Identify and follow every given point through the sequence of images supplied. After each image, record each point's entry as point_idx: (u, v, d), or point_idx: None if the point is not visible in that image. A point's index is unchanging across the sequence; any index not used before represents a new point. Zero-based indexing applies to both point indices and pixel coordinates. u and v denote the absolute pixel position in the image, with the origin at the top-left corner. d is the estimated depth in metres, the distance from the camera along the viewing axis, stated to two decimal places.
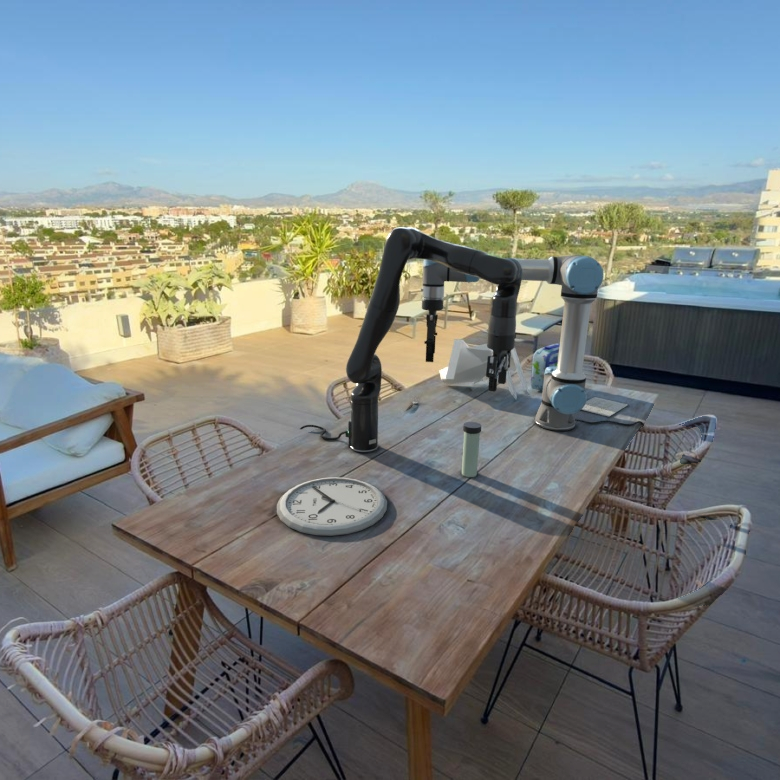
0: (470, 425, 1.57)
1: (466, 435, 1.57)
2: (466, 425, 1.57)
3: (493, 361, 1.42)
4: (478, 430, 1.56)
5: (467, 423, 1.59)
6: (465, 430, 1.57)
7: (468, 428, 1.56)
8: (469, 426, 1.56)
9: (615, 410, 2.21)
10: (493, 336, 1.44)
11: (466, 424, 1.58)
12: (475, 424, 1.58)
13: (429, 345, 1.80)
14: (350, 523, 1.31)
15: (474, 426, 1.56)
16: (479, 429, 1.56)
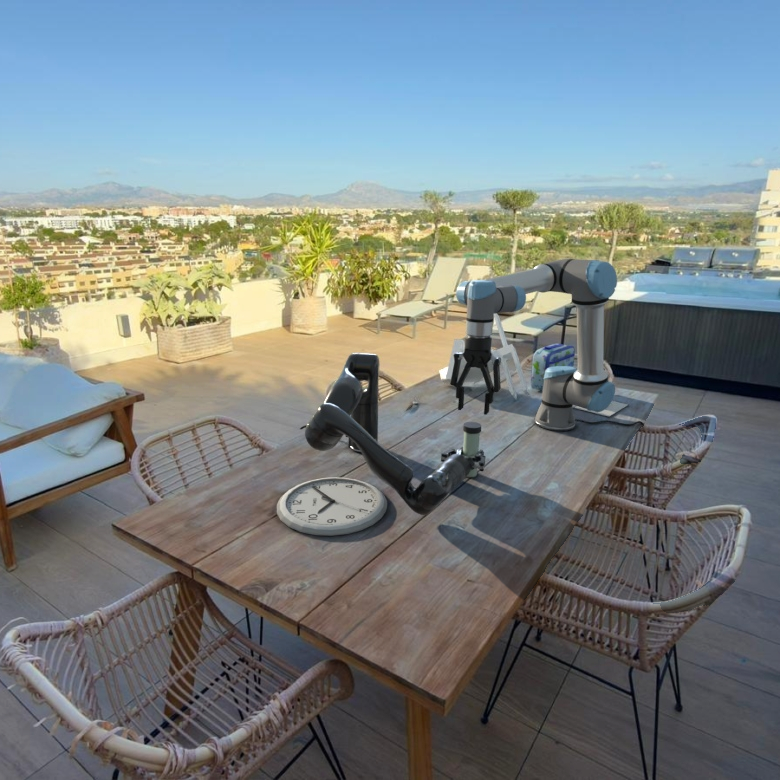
0: (470, 425, 1.57)
1: (466, 435, 1.57)
2: (466, 425, 1.57)
3: (484, 464, 1.52)
4: (478, 430, 1.56)
5: (467, 423, 1.59)
6: (465, 430, 1.57)
7: (468, 428, 1.56)
8: (469, 426, 1.56)
9: (615, 410, 2.21)
10: (465, 476, 1.48)
11: (466, 424, 1.58)
12: (475, 424, 1.58)
13: None
14: (350, 523, 1.31)
15: (474, 426, 1.56)
16: (479, 429, 1.56)
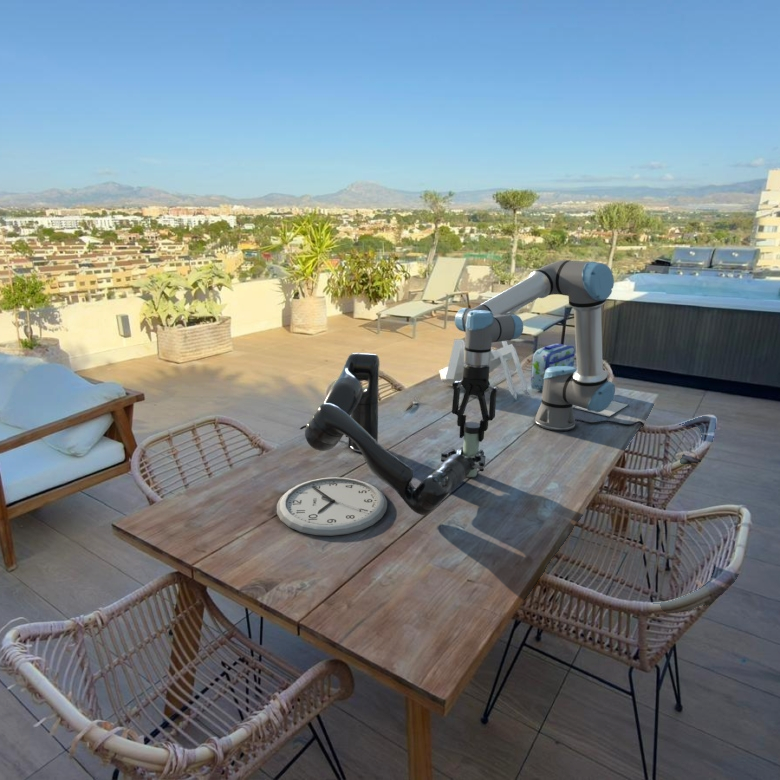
0: (470, 425, 1.57)
1: (466, 435, 1.57)
2: (466, 425, 1.57)
3: (484, 464, 1.52)
4: (478, 430, 1.56)
5: (467, 423, 1.59)
6: (465, 430, 1.57)
7: (468, 428, 1.56)
8: (469, 426, 1.56)
9: (615, 410, 2.21)
10: (465, 476, 1.48)
11: (466, 424, 1.58)
12: (475, 424, 1.58)
13: None
14: (350, 523, 1.31)
15: (474, 426, 1.56)
16: (479, 429, 1.56)
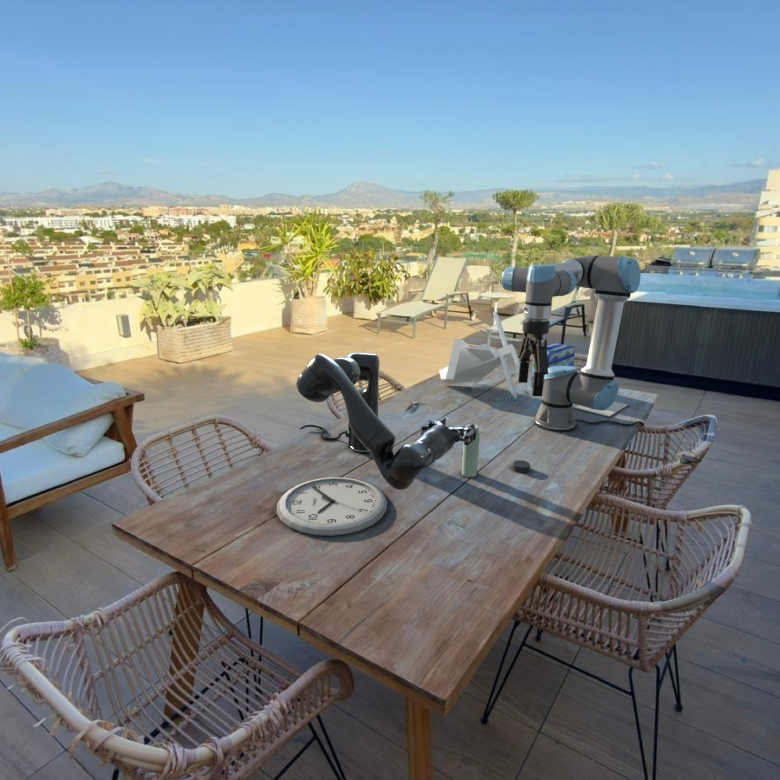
0: (520, 464, 1.65)
1: None
2: (516, 464, 1.65)
3: (469, 437, 1.36)
4: (527, 469, 1.64)
5: (516, 462, 1.67)
6: (515, 469, 1.65)
7: (518, 467, 1.64)
8: (519, 465, 1.64)
9: (615, 410, 2.21)
10: (448, 449, 1.33)
11: (515, 463, 1.66)
12: (524, 463, 1.66)
13: (540, 376, 1.49)
14: (350, 523, 1.31)
15: (523, 465, 1.65)
16: (528, 468, 1.64)
